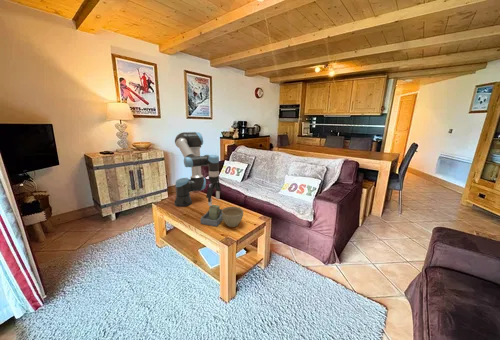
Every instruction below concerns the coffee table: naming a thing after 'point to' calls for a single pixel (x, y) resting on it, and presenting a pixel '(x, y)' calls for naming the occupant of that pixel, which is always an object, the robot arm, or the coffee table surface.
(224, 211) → the planter bowl
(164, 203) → the coffee table surface
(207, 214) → the bin
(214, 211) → the olive block
